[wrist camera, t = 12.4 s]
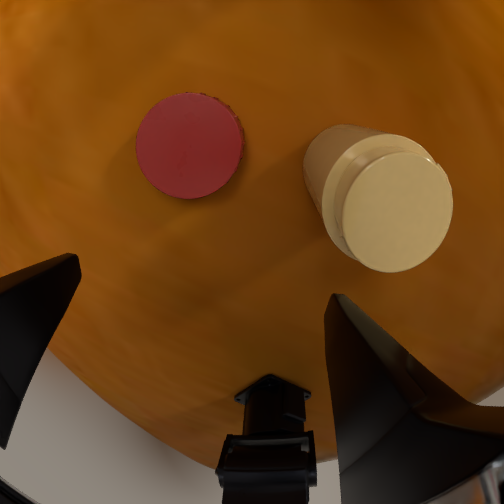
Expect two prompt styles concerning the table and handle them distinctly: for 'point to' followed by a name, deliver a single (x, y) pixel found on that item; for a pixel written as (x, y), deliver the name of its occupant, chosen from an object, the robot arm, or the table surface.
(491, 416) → the robot arm
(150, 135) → the lid
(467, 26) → the table surface
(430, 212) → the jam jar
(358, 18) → the table surface
